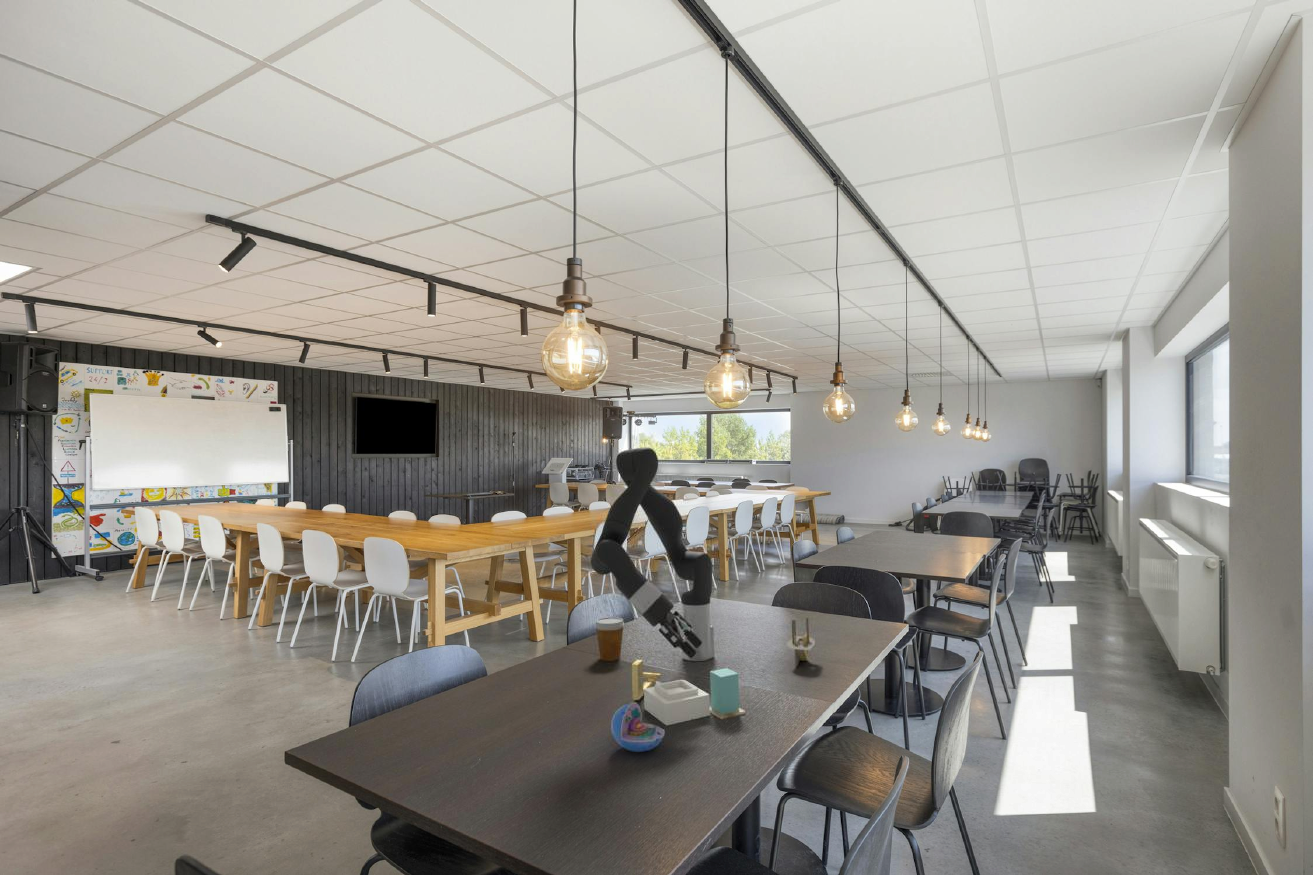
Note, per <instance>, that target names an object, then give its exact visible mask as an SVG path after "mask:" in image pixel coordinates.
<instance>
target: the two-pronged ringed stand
mask: <svg viewBox="0 0 1313 875" xmlns="http://www.w3.org/2000/svg"><path fill="white" fill-rule="evenodd" d="M796 621H797V620H796V619H791V639H789V641H787V642H786V646H787V648H789V649H790V650H794V666H795V668H798V665H799V664H800V661H804V662H809V651H810V650H811V649H812V648H813V647H814V646H815V644H816V640H815V639H814V638H813V637H811V636H810V629H809V628H810V627H809V625H810V624H809V617H805V627H806V631H805V632H806V633H805V635H802V636H801V635H799V636H798V635H797V626H796V624H797V622H796ZM801 642H802V645H801Z"/></svg>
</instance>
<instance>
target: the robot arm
mask: <svg viewBox="0 0 1313 875" xmlns="http://www.w3.org/2000/svg"><path fill="white" fill-rule="evenodd" d="M615 464H616V468H617V472H618V474H619V476H620V478H621V479H622V481H623V482H624V483H625V485H626V486H627V487H626V488H625V490H623V492H622V493H621V494H620V495H619V496H618V497H617V498H616V499H615V500H614V502H613V504H612V505H611V507H610V508H609V511H608V513H607V515H606V519H605V520H604V523H603V527H602V530H601V534H600V536H599V538H598V541H597V542H596V545H595V546H594V549H593V552H592V554H591V556H590V565H591V568H592V570H593V571H594V572H596V573H597V574H598V575H602V576H603V575H604V576H606V575H609V574H612V576H614V578H615V585H616V588H617V589H618V590H619V592H620V593H621V594H622V595H623V596H624V597H625V598H626V599H627V600H628V601H629V602H630V604H632V606H633V607H634V608H635V610H637V612H638V613H639V614H640V615H641V616H642V617H643V618H644V619H645V620H646V621H647V622H648V623H649V624H650V625H651V627H653V628H655V627H657V625H660V627H659V629H658V631H659V633H660V634H661V635H662V636H663V637H664V638H665V639H666V640H667V642H668V643H669V644H671V646H672V647H673V648H675V649H677V648H678V649H680V650H681V651H682V658H683V659H684V660H686V661H689V662H703V661H709V660H710V659H712V658H715V630H714V629H715V628H714V626H712V617H711V616H712V615H711V614H712V613H711V598H712V597H711V595H712V591H713V590H712V589H713V561H712V558H711V557H710V554H708V553H706V552H704V551H703V552H701V551H693V550H692V551H690V550H688V549H687V548H686V546H685V544H684V542H683V540H682V534H683V528H684V521H683V518H682V515H681V513H680V512H679V510H678V507H677V506H676V505H675V503H674V501H673V500H672V499H671V498H670V497H668V496H667V495H665V494H664V493H662V492H661V491H659V490H658V489H657V488H655V487H654V486H652V482H653V480H654V479H655V476H656V474H657V472H658V470H659V457H658V455H657V453H656V451H655V450H654V449H653V448H652V447H648V446H647V447H643V446H642V447H637V448H631V449H626V450H623V451H620V452H618V454H617V456H616V458H615ZM639 506H640V507H641V509H642V510H643V513H644V514H645V515H646V516H647V519H648V521H649V523H650V526H652V529H653V530H654V532H655V533H656V535H657V536H658V538H659V540H660V541H661V544H662V545H663V546H662V547H664V550H665V551H666V553H667V556H668V558H669V560H670V562H671V565H672V567H673V569H674V570H673V571H675V574H676V575H677V577H679V578H680V579H681V580H683V581H690V582H693V583H692V584H693V585H692V588H691V589H690V590H688V591H685V592H683V593H681V596H680V597H681V598H680V603H681V604H680V605H681V607H680V608H681V614H680V613H679V612H678V611H677V610H675V611H674V612H671V611H672V610H673V609H674V607H675V605H674V603H673V602H671V601H670V599H668V598H667V597H666V596H667V595H664V593H663V592H662V591H661V590H660V589H659V588H658V587H657V586H656V585H655V584H654V583H652V582H651V581H650V580H648V579H647V577H646V576H645V575H644V574H643V573H642V572H641V571H640V570H638V568H637V566H636V565H635V564H634V561H633V559H631V557H630V555H629V554H628V553H627V550H625V548H624V547H623V545H624V542H625V541H626V539H627V537H628V536H629V533H630V530H631V528H632V524H633V522H634V518H635V517H636V516H635V515H636V513H637V511H638V508H639Z"/></svg>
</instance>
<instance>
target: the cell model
mask: <svg viewBox="0 0 1313 875" xmlns="http://www.w3.org/2000/svg"><path fill="white" fill-rule="evenodd" d="M642 718H643V714H642V710H641V707H640V705H639V703H637V702H635V701H633V702H629V703H626V704H624V705H622V706H621V707H619V708H618V709H617V710H616V711H615V713H614V714H613V716H612V718H611V723H610V728H611V733H612V736H613V737H614V740H615V741H616V743H618V745H619V746H621V747H622V748H624V749H625V750H627V751H630V752H635V753H640V752H641V753H642V752H643V753H644V752H647V751H650V750H652V749H654V748H655V747H657V746H658V745H659V744H660V743H661V742H662V740H663V739H664V736H665V729H663V728H661V727H660V726H658V725H655V724H652V723H651V724H650V723H646V722H642Z"/></svg>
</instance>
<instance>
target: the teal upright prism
mask: <svg viewBox="0 0 1313 875" xmlns="http://www.w3.org/2000/svg"><path fill="white" fill-rule="evenodd" d="M709 672H710V673H709V675H710V676H709V677H710V679H709V681H710V706H711V708H712V709H714V710H715V711H717V712H718V713H720V714H722V715H723V714H727V713H732V712H736V711H739V708H740V694H739V692H740V690H739V689H740V688H739V673H737V672H736V671H734V670H732V669H729V668H727V667H726V668H721V669H715V670H711V671H709Z"/></svg>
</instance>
